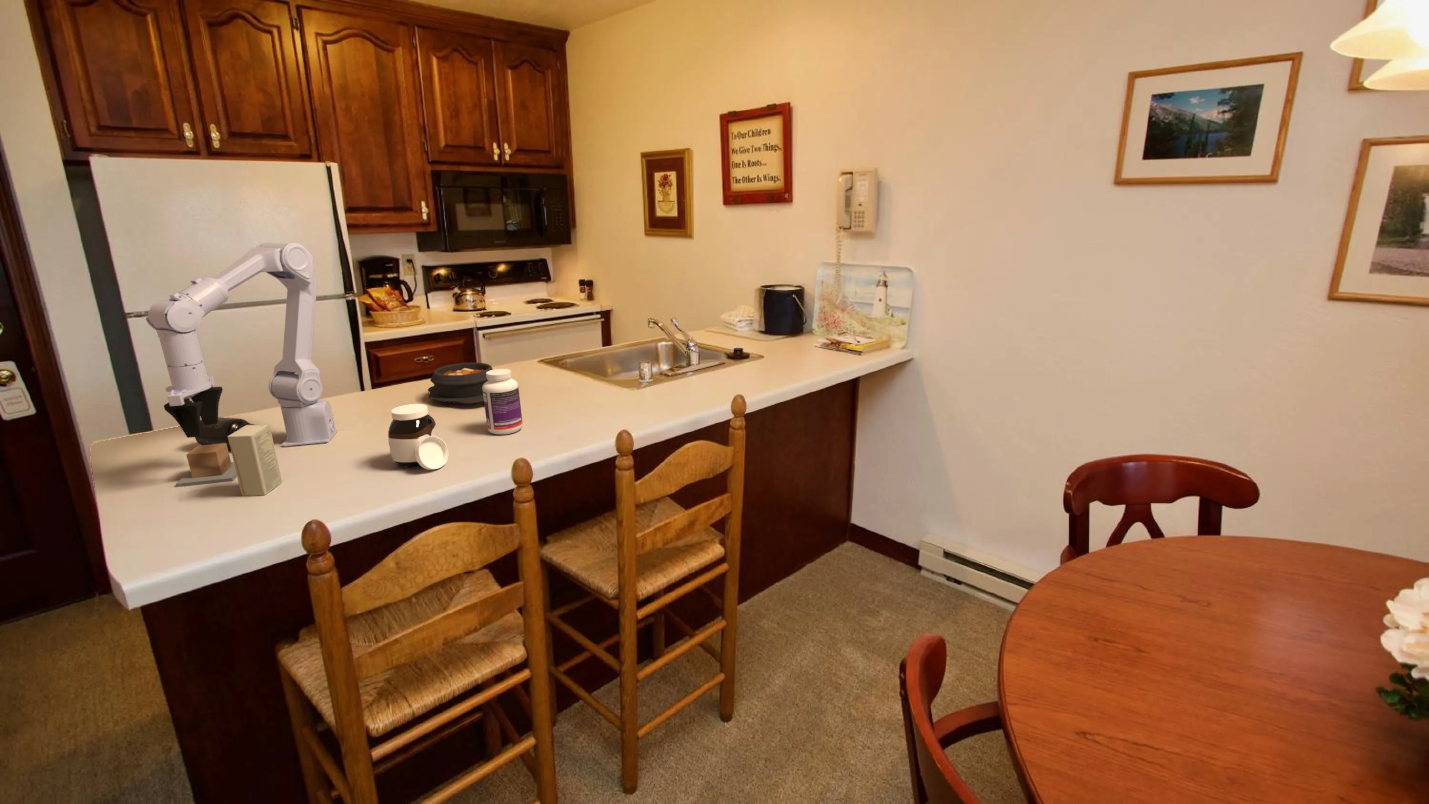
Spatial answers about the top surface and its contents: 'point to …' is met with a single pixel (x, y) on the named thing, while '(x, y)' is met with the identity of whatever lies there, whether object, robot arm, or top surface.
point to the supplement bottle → (220, 431)
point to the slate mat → (208, 478)
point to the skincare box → (255, 459)
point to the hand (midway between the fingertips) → (203, 430)
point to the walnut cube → (209, 460)
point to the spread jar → (415, 438)
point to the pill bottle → (502, 402)
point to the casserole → (459, 383)
